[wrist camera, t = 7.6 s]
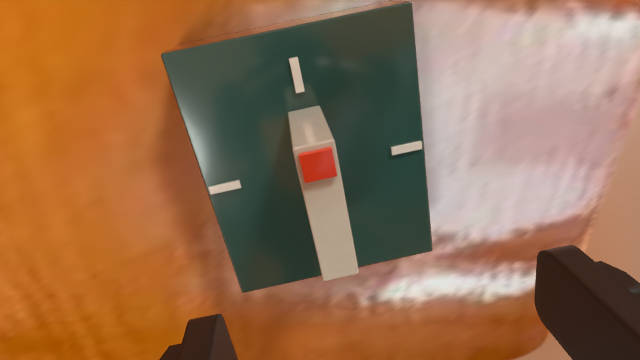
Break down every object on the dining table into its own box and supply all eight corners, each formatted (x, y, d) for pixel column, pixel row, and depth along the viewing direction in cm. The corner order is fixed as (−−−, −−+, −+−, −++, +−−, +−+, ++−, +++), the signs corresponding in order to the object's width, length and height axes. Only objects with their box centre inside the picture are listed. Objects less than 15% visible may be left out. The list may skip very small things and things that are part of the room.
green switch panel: (414, 222, 24) (434, 253, 21) (245, 259, 24) (241, 295, 21) (392, -1, 19) (413, 0, 16) (175, 44, 19) (158, 54, 16)
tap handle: (341, 215, 20) (361, 278, 15) (312, 222, 20) (324, 286, 15) (320, 104, 17) (335, 141, 13) (287, 111, 17) (292, 151, 13)
